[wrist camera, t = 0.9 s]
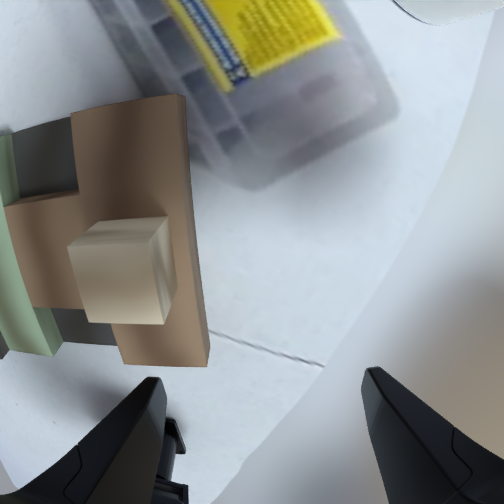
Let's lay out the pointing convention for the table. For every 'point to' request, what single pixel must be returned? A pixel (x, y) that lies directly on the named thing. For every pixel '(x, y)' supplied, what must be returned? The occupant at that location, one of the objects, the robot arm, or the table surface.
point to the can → (448, 9)
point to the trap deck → (88, 214)
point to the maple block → (125, 270)
